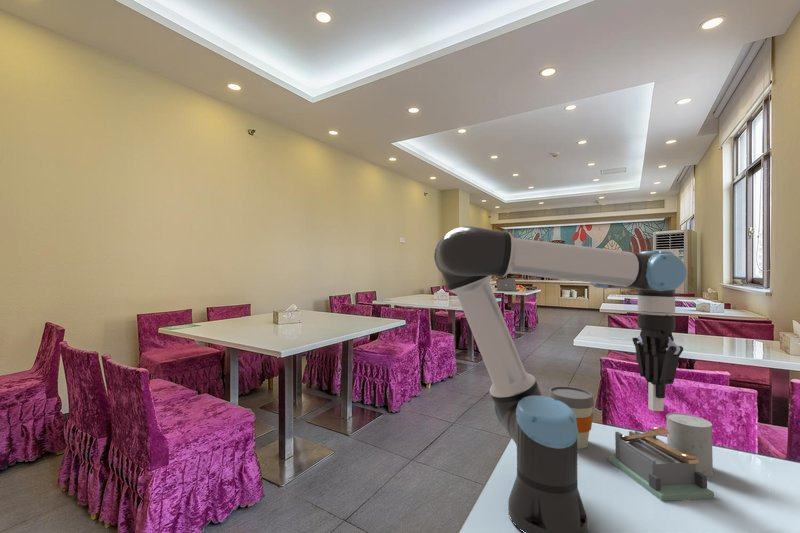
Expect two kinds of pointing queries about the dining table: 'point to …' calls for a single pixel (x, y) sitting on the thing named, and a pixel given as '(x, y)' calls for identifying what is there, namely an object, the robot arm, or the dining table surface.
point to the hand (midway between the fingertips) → (655, 409)
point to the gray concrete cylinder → (692, 438)
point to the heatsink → (659, 470)
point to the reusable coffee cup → (577, 409)
